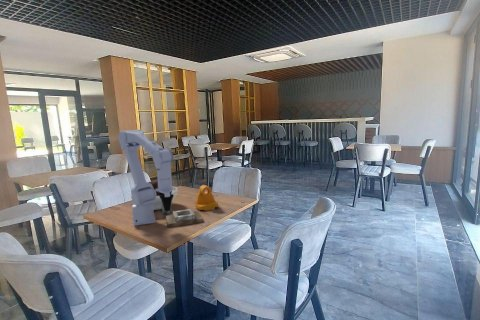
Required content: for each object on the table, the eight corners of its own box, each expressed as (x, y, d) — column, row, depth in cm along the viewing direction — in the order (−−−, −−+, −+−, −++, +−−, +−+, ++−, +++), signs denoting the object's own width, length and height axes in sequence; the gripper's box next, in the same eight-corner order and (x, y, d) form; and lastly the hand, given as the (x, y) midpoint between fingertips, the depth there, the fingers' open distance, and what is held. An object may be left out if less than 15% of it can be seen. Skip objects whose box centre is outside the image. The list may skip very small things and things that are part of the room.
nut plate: (167, 227, 115) (167, 220, 115) (165, 218, 127) (165, 211, 126) (203, 221, 121) (202, 214, 120) (198, 213, 132) (198, 206, 131)
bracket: (200, 211, 135) (198, 189, 133) (195, 208, 141) (194, 186, 139) (218, 207, 140) (217, 186, 138) (213, 204, 146) (212, 183, 144)
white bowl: (141, 219, 127) (138, 189, 124) (125, 207, 146) (123, 181, 144) (187, 207, 142) (185, 180, 140) (167, 198, 161) (166, 174, 159)
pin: (162, 216, 109) (161, 200, 108) (162, 213, 113) (160, 197, 112) (172, 214, 111) (171, 199, 110) (171, 212, 114) (170, 196, 113)
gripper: (153, 176, 115) (156, 205, 117) (155, 182, 101) (158, 216, 103) (170, 174, 117) (172, 203, 119) (174, 180, 104) (176, 213, 106)
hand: (166, 209), depth 112 cm, fingers closed on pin, 4 cm apart
